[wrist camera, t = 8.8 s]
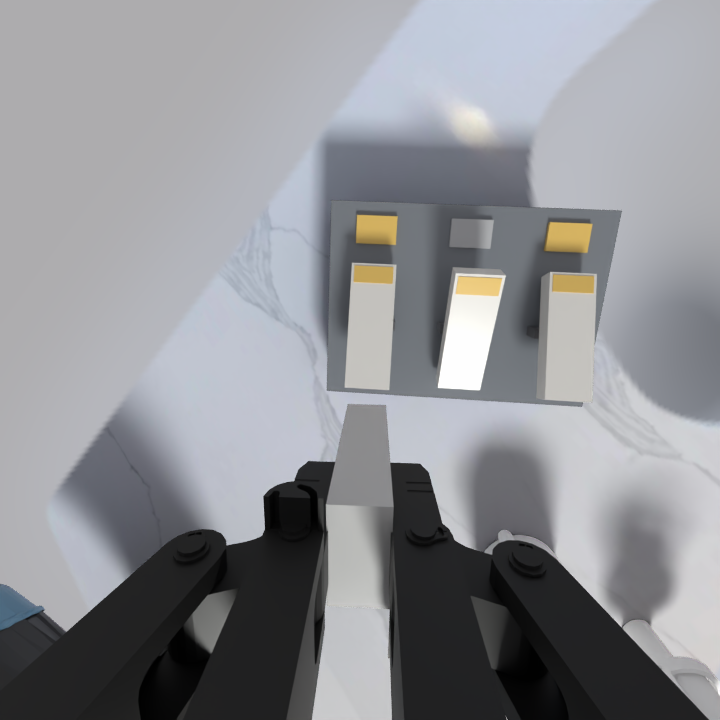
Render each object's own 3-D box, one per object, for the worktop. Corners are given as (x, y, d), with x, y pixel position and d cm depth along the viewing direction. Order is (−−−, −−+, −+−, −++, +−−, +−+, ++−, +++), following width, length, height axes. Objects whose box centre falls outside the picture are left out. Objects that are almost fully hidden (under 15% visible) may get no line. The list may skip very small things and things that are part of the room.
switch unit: (334, 374, 36) (324, 396, 30) (339, 210, 32) (328, 196, 26) (554, 387, 35) (592, 413, 29) (585, 219, 31) (635, 207, 25)
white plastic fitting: (590, 624, 41) (703, 818, 27) (649, 594, 40) (803, 782, 25) (623, 664, 42) (750, 873, 28) (682, 636, 41) (847, 841, 26)
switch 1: (346, 386, 28) (344, 387, 26) (353, 267, 28) (351, 262, 27) (388, 389, 28) (389, 390, 26) (395, 269, 28) (396, 264, 26)
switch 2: (435, 378, 30) (437, 388, 28) (452, 267, 25) (455, 273, 24) (476, 380, 30) (479, 390, 28) (500, 269, 25) (506, 275, 24)
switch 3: (536, 398, 27) (545, 399, 26) (541, 277, 27) (550, 271, 26) (581, 401, 27) (592, 402, 25) (585, 279, 27) (597, 273, 26)
